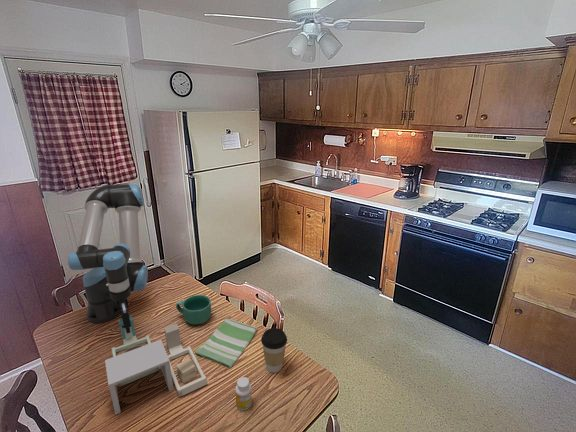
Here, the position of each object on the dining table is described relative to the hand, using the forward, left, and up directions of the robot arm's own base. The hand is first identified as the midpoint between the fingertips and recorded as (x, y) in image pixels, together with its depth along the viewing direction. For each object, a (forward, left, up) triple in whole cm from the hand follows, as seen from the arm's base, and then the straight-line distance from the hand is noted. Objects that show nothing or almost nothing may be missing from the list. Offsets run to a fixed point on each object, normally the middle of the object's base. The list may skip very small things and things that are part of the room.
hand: (128, 334), depth 135 cm
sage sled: (+12, 0, -1) cm, 12 cm away
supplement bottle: (+56, +28, -2) cm, 62 cm away
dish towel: (+26, +35, -2) cm, 44 cm away
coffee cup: (+48, +45, -2) cm, 66 cm away
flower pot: (+21, 0, -2) cm, 21 cm away
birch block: (+34, +15, -2) cm, 37 cm away
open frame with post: (+28, +15, -1) cm, 32 cm away
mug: (+3, +28, -2) cm, 28 cm away
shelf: (+31, 0, -2) cm, 31 cm away
